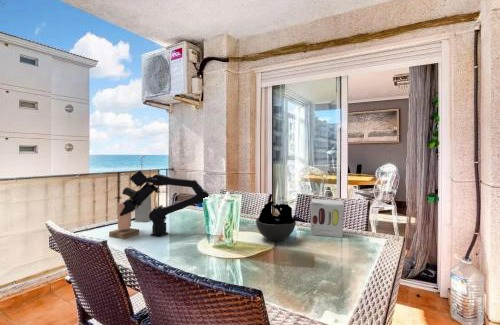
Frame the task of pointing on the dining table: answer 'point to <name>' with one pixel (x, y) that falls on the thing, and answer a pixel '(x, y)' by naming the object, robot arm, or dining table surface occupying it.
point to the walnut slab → (124, 233)
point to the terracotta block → (123, 218)
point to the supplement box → (327, 217)
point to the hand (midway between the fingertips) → (121, 214)
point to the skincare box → (143, 211)
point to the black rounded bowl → (276, 222)
